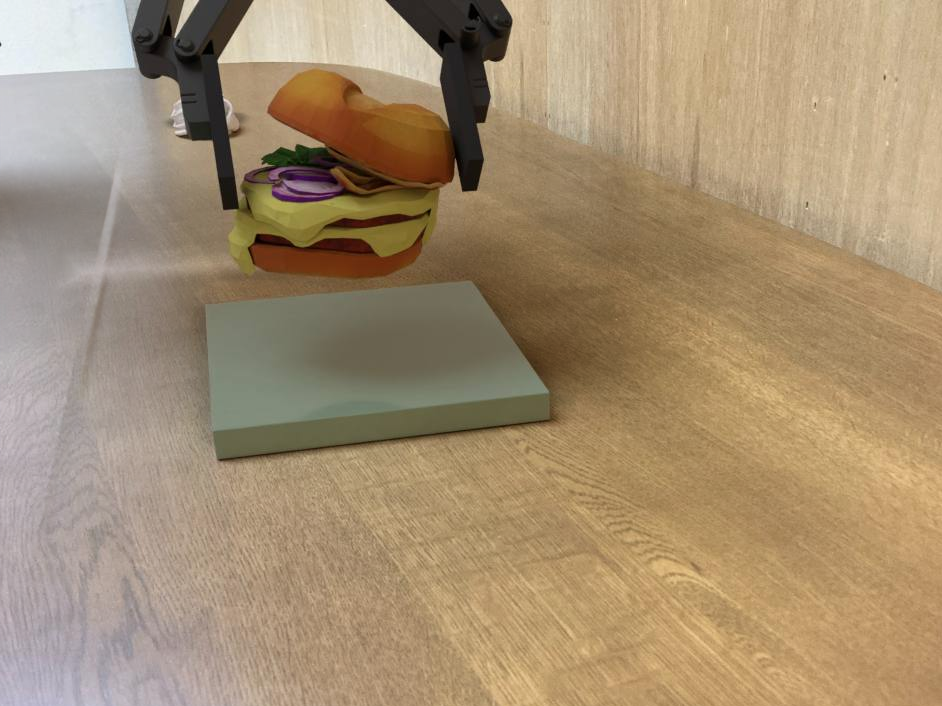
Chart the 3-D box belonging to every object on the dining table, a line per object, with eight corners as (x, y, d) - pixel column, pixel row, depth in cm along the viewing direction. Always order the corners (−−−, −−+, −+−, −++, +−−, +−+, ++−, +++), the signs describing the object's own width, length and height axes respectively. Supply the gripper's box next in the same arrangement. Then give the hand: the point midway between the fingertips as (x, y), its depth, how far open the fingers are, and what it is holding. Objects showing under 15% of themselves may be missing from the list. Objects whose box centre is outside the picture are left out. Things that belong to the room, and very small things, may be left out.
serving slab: (208, 328, 68) (204, 304, 67) (472, 303, 71) (471, 279, 70) (216, 460, 53) (211, 430, 52) (550, 420, 56) (550, 392, 55)
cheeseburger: (203, 246, 60) (221, 44, 56) (393, 267, 65) (421, 83, 61) (251, 300, 52) (276, 69, 48) (462, 319, 57) (500, 112, 53)
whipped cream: (240, 147, 115) (238, 97, 112) (170, 144, 113) (166, 93, 110) (239, 126, 121) (237, 77, 118) (173, 123, 119) (169, 74, 117)
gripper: (31, -260, 53) (79, 156, 48) (517, -254, 58) (605, 121, 53) (65, -128, 60) (110, 245, 55) (496, -134, 65) (572, 208, 60)
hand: (353, 185), depth 54 cm, fingers closed on cheeseburger, 11 cm apart
